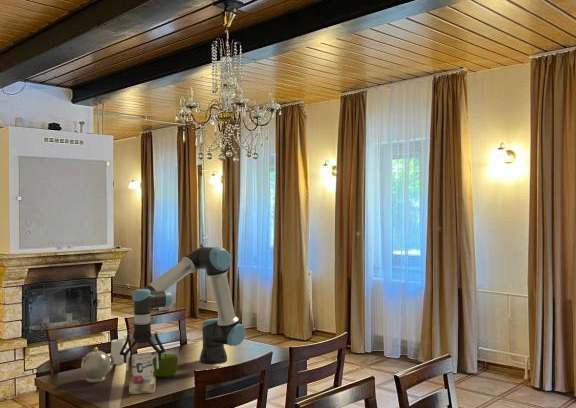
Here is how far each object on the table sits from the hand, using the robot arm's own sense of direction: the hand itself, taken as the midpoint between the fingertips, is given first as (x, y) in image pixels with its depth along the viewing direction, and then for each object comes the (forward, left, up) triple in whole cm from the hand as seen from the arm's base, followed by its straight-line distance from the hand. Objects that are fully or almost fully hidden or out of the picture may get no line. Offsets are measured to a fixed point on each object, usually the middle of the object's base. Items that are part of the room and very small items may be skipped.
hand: (142, 369), depth 265 cm
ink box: (0, 0, -5) cm, 5 cm away
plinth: (0, 0, -9) cm, 9 cm away
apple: (-9, -20, -9) cm, 24 cm away
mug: (+15, -53, -9) cm, 56 cm away
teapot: (+23, -20, -9) cm, 32 cm away
